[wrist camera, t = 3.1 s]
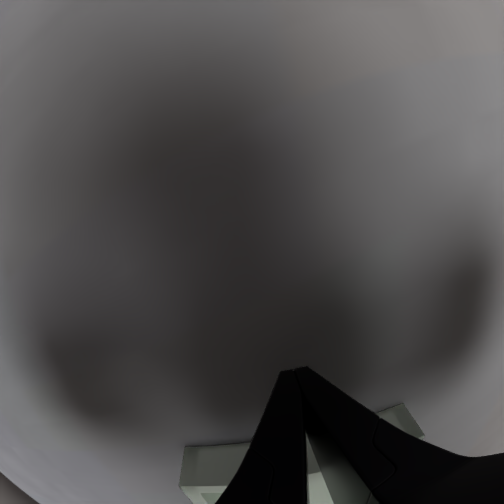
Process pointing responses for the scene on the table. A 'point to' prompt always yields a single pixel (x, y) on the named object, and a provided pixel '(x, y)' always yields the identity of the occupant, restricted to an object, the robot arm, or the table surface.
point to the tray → (231, 456)
